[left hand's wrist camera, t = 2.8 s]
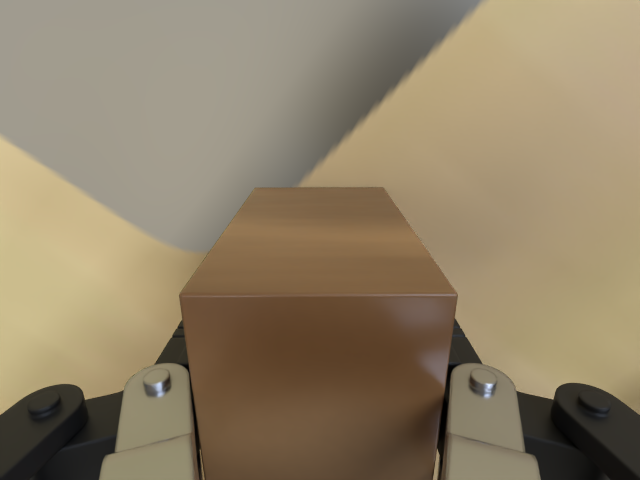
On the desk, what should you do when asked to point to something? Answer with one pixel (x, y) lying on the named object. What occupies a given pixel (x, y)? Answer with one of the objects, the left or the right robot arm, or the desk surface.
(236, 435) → the bar
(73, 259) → the desk surface
